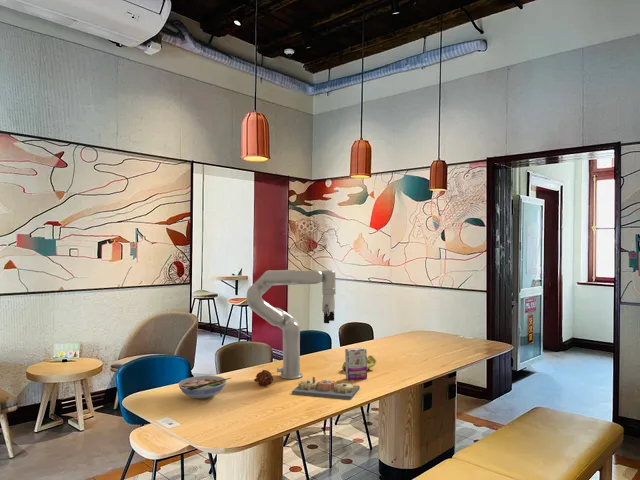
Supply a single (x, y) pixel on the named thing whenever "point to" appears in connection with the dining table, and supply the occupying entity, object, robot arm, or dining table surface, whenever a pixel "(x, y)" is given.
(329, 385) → the idler gear
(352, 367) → the candy bar box
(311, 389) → the gear board
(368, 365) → the plastic component
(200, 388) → the ramen bowl
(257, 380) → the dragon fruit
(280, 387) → the dining table surface
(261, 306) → the robot arm
